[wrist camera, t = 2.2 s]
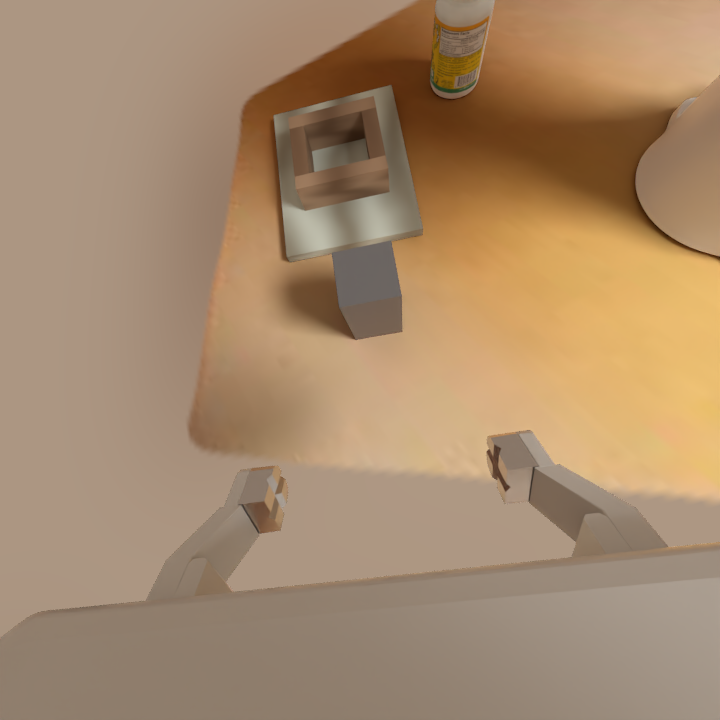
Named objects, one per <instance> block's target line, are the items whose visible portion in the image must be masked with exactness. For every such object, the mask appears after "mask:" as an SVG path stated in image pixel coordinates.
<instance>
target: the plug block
mask: <svg viewBox="0 0 720 720" xmlns="http://www.w3.org/2000/svg"><path fill="white" fill-rule="evenodd" d="M332 258H333V265H334V273H335V280H336V288H337V295H338V303H339V308H340V310H341V312H342V314H343V316H344V318H345V320H346V322H347V324H348V326H349V328H350V330H351V331H352V333H353V335H354V337H355V339H356V340H358V339H364V338H369V337H375V336H381V335H386V334H392V333H397V332H402V295H401V290H400V285H399V280H398V274H397V269H396V264H395V258H394V253H393V248H392V242H391V241H386V242H381V243H376V244H371V245H367V246H362V247H357V248H352V249H347V250H343V251H338V252H333V253H332Z"/></svg>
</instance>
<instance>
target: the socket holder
mask: <svg viewBox="0 0 720 720" xmlns="http://www.w3.org/2000/svg"><path fill="white" fill-rule="evenodd" d="M274 125H275V136H276V147H277V158H278V169H279V179H280V190H281V201H282V212H283V223H284V234H285V245H286V255H287V258H288V260H289V261H290V262H294V261H299V260H303V259H308V258H313V257H318V256H323V255H328V254H332V253H333V252H338V251H343V250H347V249H352V248H357V247H362V246H367V245H371V244H376V243H381V242H386V241H395V240H400V239H405V238H409V237H414V236H419V235H423V226H422V221H421V217H420V212H419V208H418V203H417V199H416V194H415V190H414V185H413V180H412V176H411V171H410V167H409V162H408V158H407V153H406V149H405V144H404V140H403V135H402V130H401V126H400V121H399V117H398V112H397V108H396V103H395V99H394V94H393V90H392V85H389V86H385V87H381V88H377V89H373V90H369V91H366V92H362V93H358V94H354V95H350V96H346V97H342V98H338V99H335V100H331V101H327V102H323V103H319V104H315V105H311V106H308V107H304V108H300V109H296V110H292V111H288V112H284V113H280V114H277V115H274Z"/></svg>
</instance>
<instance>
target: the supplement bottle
mask: <svg viewBox="0 0 720 720" xmlns="http://www.w3.org/2000/svg"><path fill="white" fill-rule="evenodd" d="M494 2H495V0H437V1H436V6H435V18H434V32H433V45H432V59H431V72H430V83H431V87H432V89H433V91H434V92H435V93H436V94H437V95H438V96H440V97H443V98H447V99H456V98H460V97H463V96H465V95H467V94H468V93H470V92H471V91H472V90H473V89H474V87H475V86H476V84H477V82H478V78H479V74H480V69H481V64H482V59H483V55H484V50H485V45H486V40H487V36H488V31H489V26H490V22H491V17H492V13H493V8H494Z"/></svg>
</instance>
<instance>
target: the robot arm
mask: <svg viewBox="0 0 720 720" xmlns="http://www.w3.org/2000/svg"><path fill="white" fill-rule="evenodd" d="M636 191H637V195H638V198H639V201H640V203H641V205H642V207H643V209H644V211H645V212H646V214H647V215H648V216H649V218H650V219H651V220H652V221H653V222H654V223H655V224H656V225H657V226H658V227H659V228H660V229H661V230H662V231H663V232H665V233H666V234H667V235H669V236H670V237H672V238H673V239H675V240H677V241H678V242H680V243H682V244H684V245H686V246H689V247H691V248H694V249H696V250H699V251H702V252H706V253H709V254H713V255H716V256H720V75H719V76H718V77H717V78H716V79H715V80H714V81H713V82H712V83H711V84H710V85H709V86H708V87H707V88H706V89H705V90H704V91H703V92H702V93H701V94H700V95H699V96H698V97H694V98H689V99H687V100H685V101H684V102H683V103H682V104H681V105H680V106H679V107H678V108H677V109H676V110H675V111H674V112H673V114H672V115H671V117H670V120H669V123H668V126H667V129H666V131H665V132H664V133H663V134H662V135H661V136H660V137H659V138H658V139H657V140H656V141H655V142H654V143H653V144H652V145H651V146H650V147H649V148H648V149H647V150H646V151H645V153H644V154H643V156H642V158H641V160H640V162H639V164H638V167H637V171H636ZM487 445H488V447H489V450H488V451H487V463H488V467H489V470H490V473H491V475H492V477H493V478H494V479H496V480H497V489H498V491H499V493H500V495H501V497H502V500H503V502H504V504H508V503H520V502H529V503H530V504H531V505H532V506H534V507H535V508H536V509H537V510H538V511H540V512H541V513H542V514H543V515H544V516H545V517H547V518H548V519H549V520H550V521H551V522H553V523H554V524H555V525H556V526H557V527H559V528H560V529H561V530H562V531H563V532H565V533H566V534H567V535H568V536H569V537H571V538H572V539H573V540H574V541H575V542H576V545H575V548H574V551H573V554H572V557H570V558H560V559H550V560H540V561H532V562H531V561H530V562H521V563H511V564H501V565H492V566H481V567H472V568H462V569H453V570H442V571H432V572H423V573H413V574H403V575H394V576H384V577H374V578H365V579H355V580H345V581H335V582H326V583H316V584H306V585H296V586H287V587H277V588H267V589H257V590H248V591H238V592H234V591H233V590H232V589H231V587H229V585H228V584H227V583H226V581H227V580H228V578H229V577H230V575H231V574H232V573H233V571H234V570H235V568H236V567H237V566H238V564H239V563H240V562H241V560H242V559H243V557H244V556H245V555H246V553H247V552H248V550H249V549H250V548H251V546H252V545H253V543H254V542H255V540H256V539H257V538H258V536H259V534H261V533H267V532H274V531H280V530H281V526H282V522H283V517H284V512H283V511H282V508H283V507H284V505H285V504H286V503H287V498H288V487H287V483H286V480H285V479H284V478H283V477H281V476H280V474H281V470H280V468H279V466H268V467H261V468H252V469H243V470H240V471H239V472H238V473H237V476H236V478H235V481H234V483H233V485H232V488H231V490H230V493H229V495H228V498H227V500H226V503H225V505H224V507H222V508H219V509H218V510H217V511H216V512H215V513H214V514H213V515H212V516H211V517H210V518H209V519H208V520H207V521H206V522H205V523H204V524H203V525H202V526H201V527H200V528H199V529H198V530H197V531H196V532H195V533H194V534H193V535H192V536H191V537H190V538H189V539H187V540H186V541H185V542H184V543H183V544H182V545H181V546H180V547H179V548H178V549H177V550H176V551H175V552H174V553H173V554H172V555H171V556H170V557H169V558H168V559H167V560H166V561H165V563H164V565H163V567H162V569H161V572H160V573H159V575H158V578H157V580H156V581H155V584H154V585H153V587H152V589H151V592H150V594H149V596H148V597H147V600H146V601H139V602H129V603H119V604H109V605H100V606H91V607H80V608H70V609H60V610H48V611H42V612H38V613H36V614H33V615H31V616H30V617H28V618H26V619H25V620H23V621H22V622H21V623H19V624H18V625H17V626H15V627H14V628H12V629H11V630H10V631H8V632H7V633H6V634H5V635H3V636H2V637H1V638H0V720H720V542H716V543H707V544H696V545H687V546H677V547H668V546H667V544H666V543H665V542H664V541H663V540H662V538H661V537H660V536H659V535H658V534H657V532H656V531H655V530H654V529H653V528H652V526H651V525H650V524H649V523H648V522H647V520H646V519H645V518H644V517H643V516H642V514H641V513H640V512H639V511H638V510H637V509H636V508H635V507H634V506H632V505H630V504H629V503H627V502H625V501H623V500H621V499H620V498H618V497H616V496H614V495H613V494H611V493H609V492H607V491H606V490H604V489H602V488H600V487H599V486H597V485H595V484H593V483H592V482H590V481H588V480H586V479H585V478H583V477H581V476H579V475H578V474H576V473H574V472H572V471H571V470H569V469H567V468H565V467H564V466H562V465H560V464H557V465H555V464H554V462H553V461H552V459H551V458H550V456H549V455H548V454H547V452H546V451H545V449H544V448H543V446H542V445H541V443H540V442H539V441H538V439H537V438H536V436H535V435H534V433H533V432H532V431H530V430H526V431H519V432H512V433H505V434H498V435H492V436H488V437H487Z"/></svg>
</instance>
